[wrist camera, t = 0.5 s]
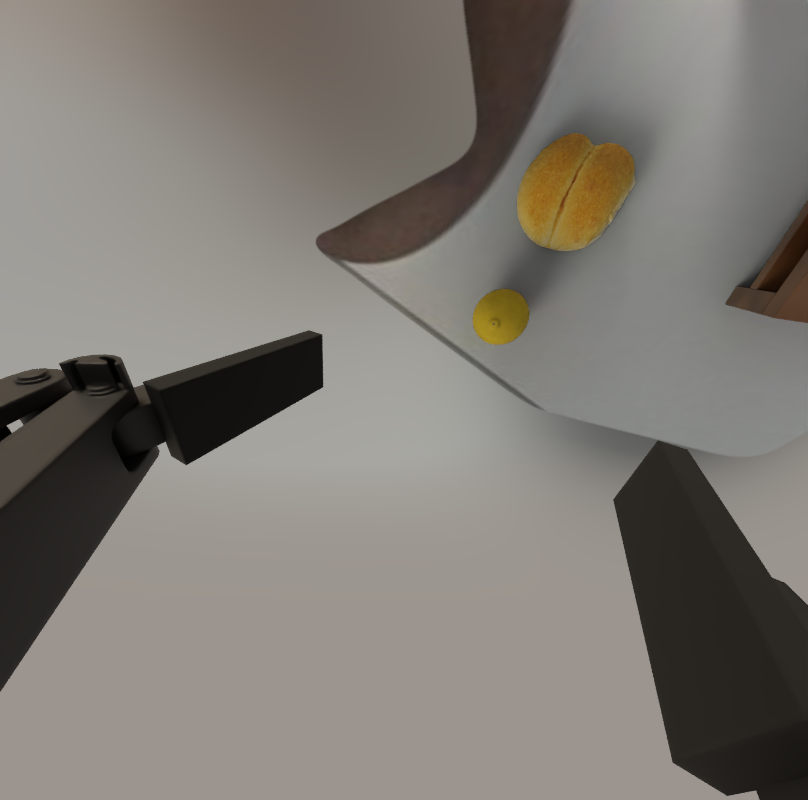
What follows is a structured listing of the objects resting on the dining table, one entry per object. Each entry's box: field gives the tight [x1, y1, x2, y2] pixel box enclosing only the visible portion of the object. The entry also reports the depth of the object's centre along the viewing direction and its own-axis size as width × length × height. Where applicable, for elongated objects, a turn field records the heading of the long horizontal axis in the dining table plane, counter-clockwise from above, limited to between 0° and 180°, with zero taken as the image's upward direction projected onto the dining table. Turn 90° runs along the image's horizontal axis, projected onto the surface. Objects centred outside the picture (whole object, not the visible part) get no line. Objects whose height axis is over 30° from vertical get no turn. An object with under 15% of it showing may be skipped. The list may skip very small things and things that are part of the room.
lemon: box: [473, 289, 529, 345], centre depth 30 cm, size 6×6×8 cm
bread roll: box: [517, 133, 636, 251], centre depth 25 cm, size 8×9×4 cm
